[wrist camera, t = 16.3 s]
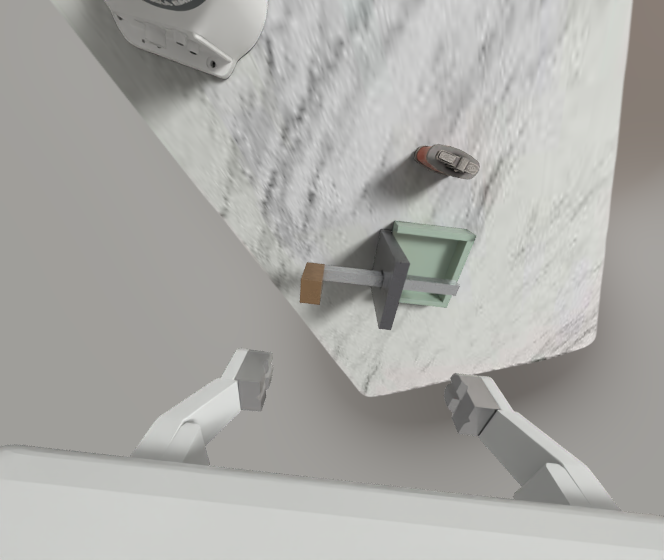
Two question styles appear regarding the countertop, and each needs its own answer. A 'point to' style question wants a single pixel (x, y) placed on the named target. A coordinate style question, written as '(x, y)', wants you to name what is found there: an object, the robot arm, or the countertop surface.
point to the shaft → (364, 281)
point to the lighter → (447, 161)
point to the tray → (432, 256)
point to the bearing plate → (389, 278)
